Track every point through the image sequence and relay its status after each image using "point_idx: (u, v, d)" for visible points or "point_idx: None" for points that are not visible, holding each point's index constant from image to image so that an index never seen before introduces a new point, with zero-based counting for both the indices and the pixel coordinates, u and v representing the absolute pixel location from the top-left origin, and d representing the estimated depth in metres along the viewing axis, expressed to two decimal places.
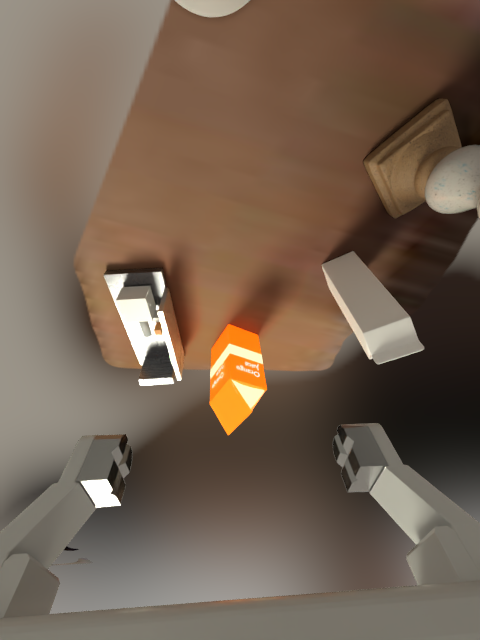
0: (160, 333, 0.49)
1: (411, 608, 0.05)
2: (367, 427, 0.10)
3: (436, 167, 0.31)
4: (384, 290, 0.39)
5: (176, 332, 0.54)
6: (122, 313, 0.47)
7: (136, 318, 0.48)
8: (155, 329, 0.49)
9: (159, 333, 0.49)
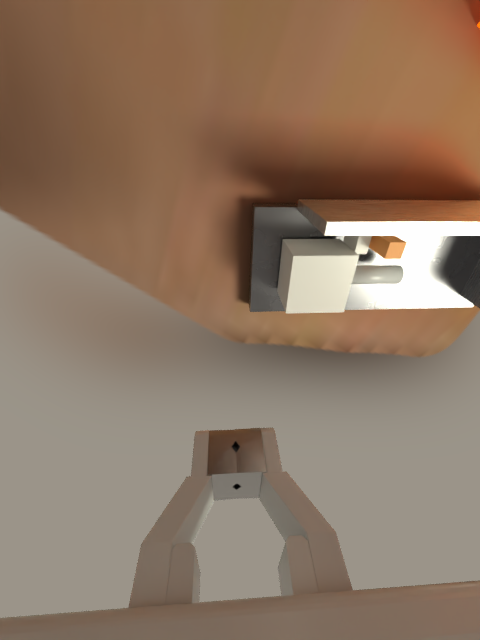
0: (401, 245, 0.19)
1: (411, 608, 0.05)
2: (259, 432, 0.10)
3: None
4: None
5: (423, 205, 0.21)
6: (320, 309, 0.23)
7: (340, 287, 0.21)
8: (384, 254, 0.19)
9: (399, 247, 0.19)
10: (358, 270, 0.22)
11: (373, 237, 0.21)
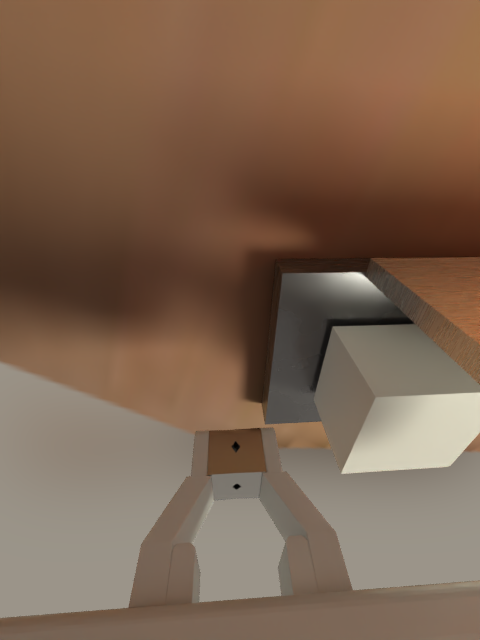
0: None
1: (411, 608, 0.05)
2: (259, 432, 0.10)
3: None
4: None
5: None
6: (406, 466, 0.12)
7: (457, 437, 0.11)
8: None
9: None
10: None
11: None
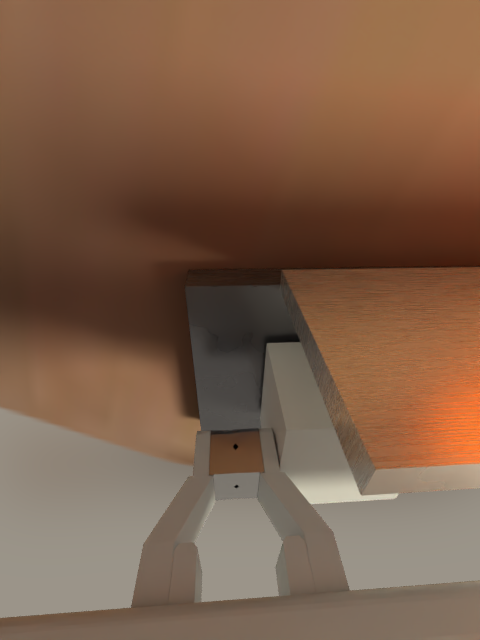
0: None
1: (411, 608, 0.05)
2: (257, 432, 0.10)
3: None
4: None
5: None
6: (345, 498, 0.11)
7: None
8: None
9: None
10: None
11: None
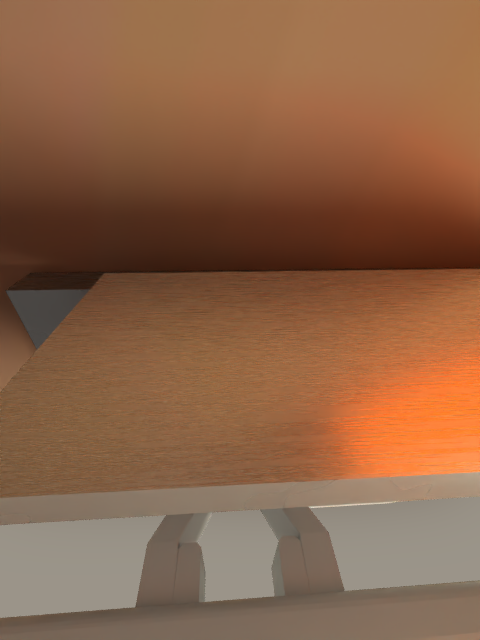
0: None
1: (411, 608, 0.05)
2: None
3: None
4: None
5: (395, 297, 0.08)
6: None
7: None
8: None
9: None
10: None
11: None
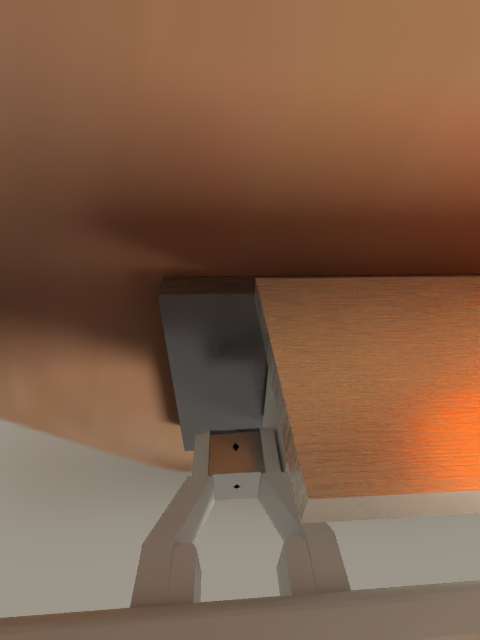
0: None
1: (411, 608, 0.05)
2: (258, 432, 0.10)
3: None
4: None
5: None
6: None
7: None
8: None
9: None
10: None
11: None
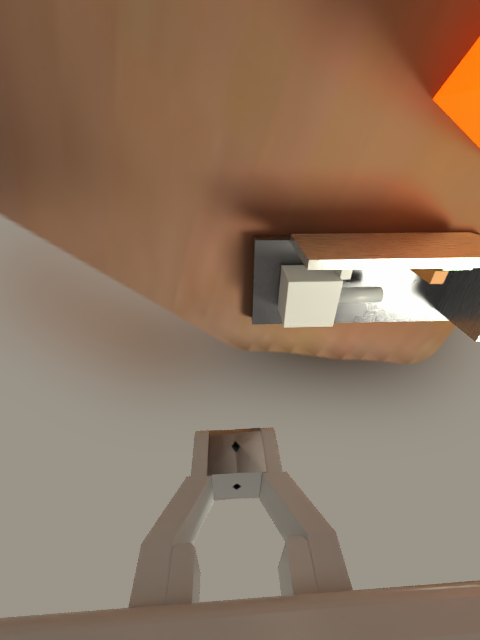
0: (444, 273, 0.23)
1: (412, 608, 0.05)
2: (259, 432, 0.10)
3: None
4: None
5: (394, 239, 0.25)
6: (312, 324, 0.27)
7: (329, 306, 0.26)
8: (429, 280, 0.24)
9: (443, 275, 0.23)
10: (344, 291, 0.27)
11: None
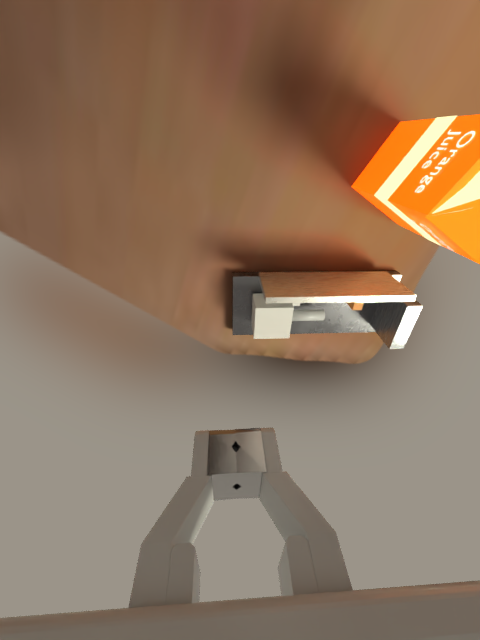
0: (360, 303, 0.34)
1: (411, 608, 0.05)
2: (259, 432, 0.10)
3: None
4: None
5: (329, 278, 0.35)
6: (274, 336, 0.37)
7: (285, 324, 0.36)
8: (352, 307, 0.35)
9: (360, 304, 0.34)
10: (297, 313, 0.37)
11: None
